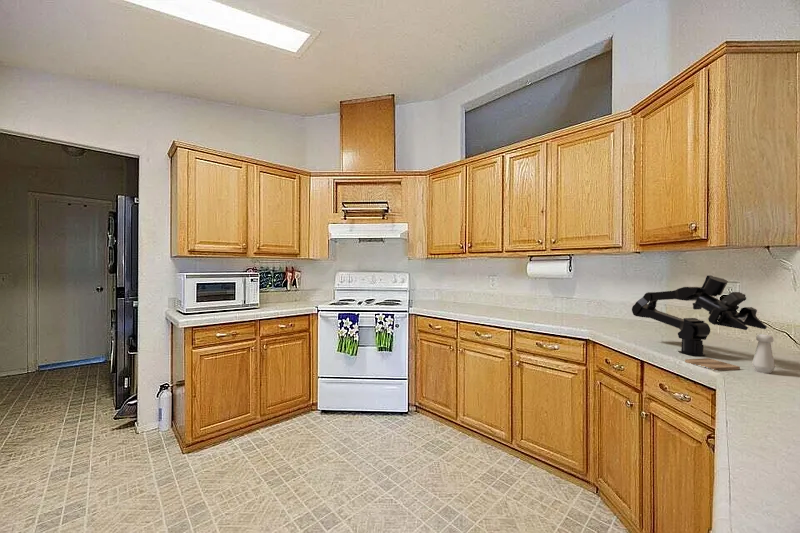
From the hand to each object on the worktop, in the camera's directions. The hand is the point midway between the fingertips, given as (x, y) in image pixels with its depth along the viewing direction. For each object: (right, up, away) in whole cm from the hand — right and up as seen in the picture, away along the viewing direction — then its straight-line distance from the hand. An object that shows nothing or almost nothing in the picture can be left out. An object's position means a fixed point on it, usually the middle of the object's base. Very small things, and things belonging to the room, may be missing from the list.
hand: (756, 328), depth 132 cm
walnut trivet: (-11, -15, +5) cm, 19 cm away
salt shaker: (+1, -15, -1) cm, 15 cm away
